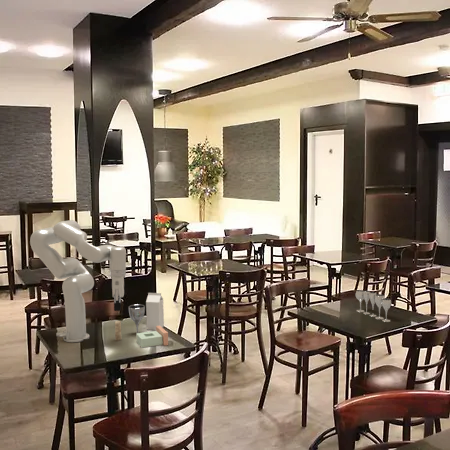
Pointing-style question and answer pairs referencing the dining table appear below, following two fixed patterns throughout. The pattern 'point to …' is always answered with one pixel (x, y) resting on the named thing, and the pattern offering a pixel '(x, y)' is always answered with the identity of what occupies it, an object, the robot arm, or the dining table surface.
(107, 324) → the dining table surface
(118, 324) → the dowel
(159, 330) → the orange rectangular block
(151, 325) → the milk carton
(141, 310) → the wine glass
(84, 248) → the robot arm
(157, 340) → the tissue box
